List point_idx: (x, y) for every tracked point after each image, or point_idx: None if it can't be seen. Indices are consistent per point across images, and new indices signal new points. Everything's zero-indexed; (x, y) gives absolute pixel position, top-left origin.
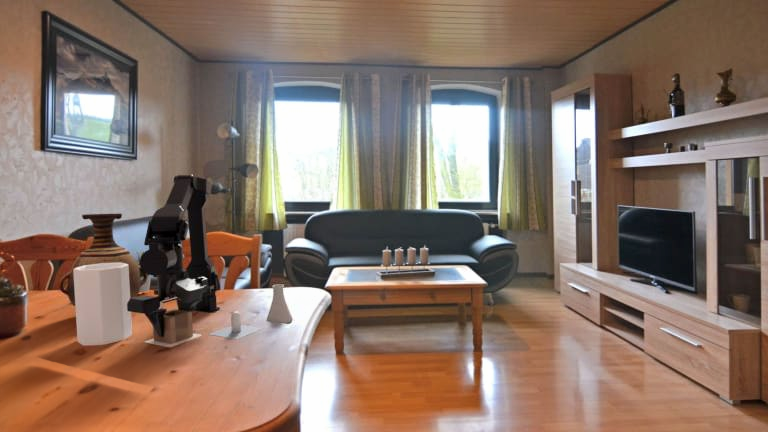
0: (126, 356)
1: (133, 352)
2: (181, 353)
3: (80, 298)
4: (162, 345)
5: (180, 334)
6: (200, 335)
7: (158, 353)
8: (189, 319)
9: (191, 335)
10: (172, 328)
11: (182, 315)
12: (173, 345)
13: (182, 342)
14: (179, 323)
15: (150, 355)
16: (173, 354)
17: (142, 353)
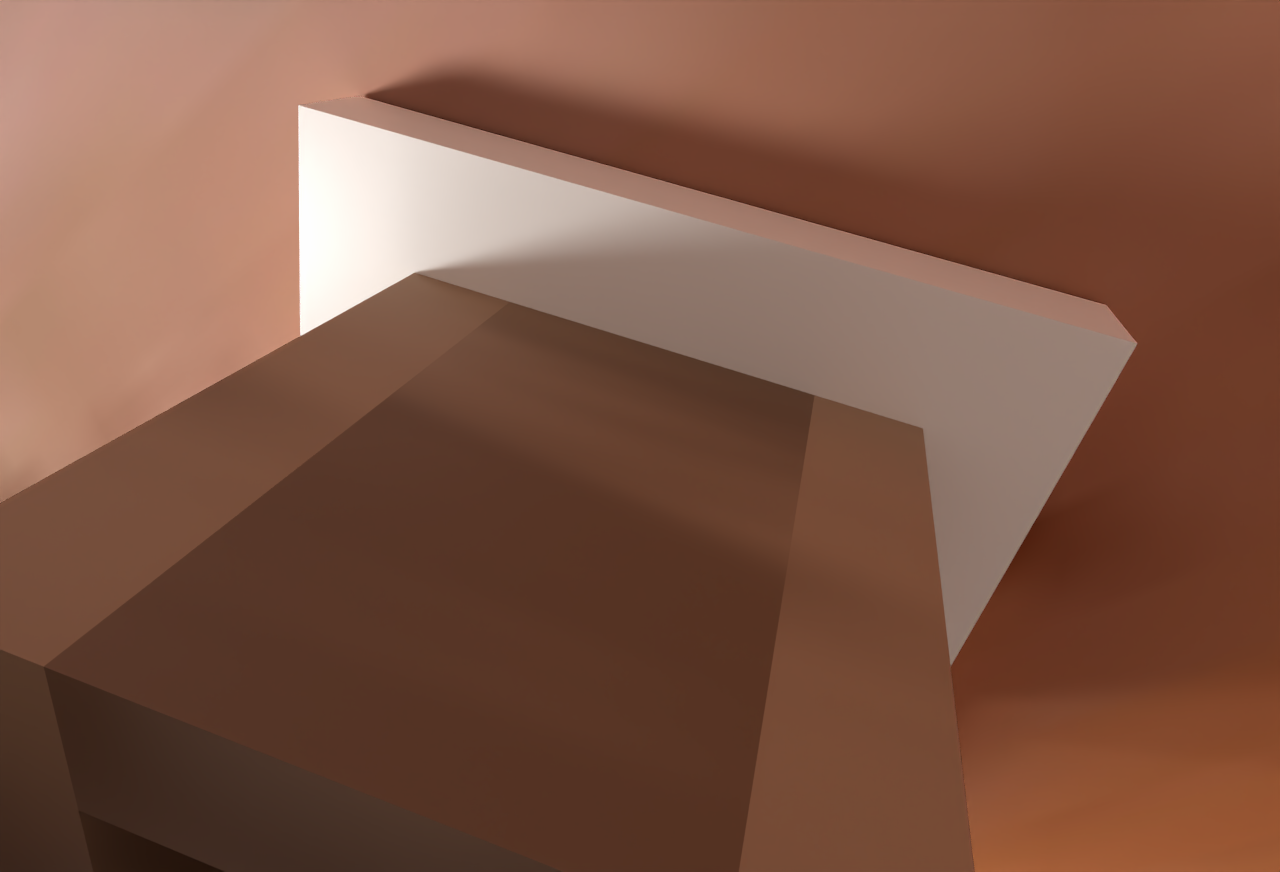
0: (1246, 861)
1: (1062, 839)
2: (1186, 17)
3: None
4: (1010, 553)
5: (669, 417)
6: (333, 132)
7: (1140, 499)
8: (215, 471)
9: (435, 288)
10: (885, 628)
11: (342, 732)
12: (1012, 341)
13: (803, 256)
14: (603, 592)
15: (1245, 577)
16: (1241, 173)
17: (1119, 724)
